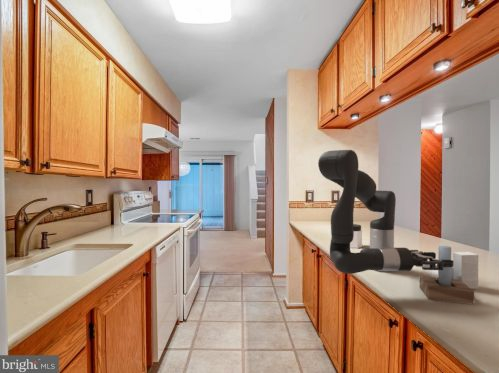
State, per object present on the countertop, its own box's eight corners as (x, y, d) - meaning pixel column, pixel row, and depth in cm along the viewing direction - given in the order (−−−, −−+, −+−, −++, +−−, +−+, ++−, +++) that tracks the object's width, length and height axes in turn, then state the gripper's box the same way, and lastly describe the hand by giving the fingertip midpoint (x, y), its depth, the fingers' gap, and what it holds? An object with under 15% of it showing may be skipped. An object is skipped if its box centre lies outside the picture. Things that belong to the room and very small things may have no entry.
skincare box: (468, 284, 99) (468, 251, 98) (478, 289, 95) (479, 254, 94) (451, 284, 99) (452, 251, 98) (461, 289, 94) (462, 255, 94)
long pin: (436, 292, 92) (436, 245, 92) (448, 293, 91) (448, 246, 91) (440, 296, 89) (440, 247, 88) (452, 297, 88) (453, 248, 87)
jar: (351, 243, 159) (351, 223, 159) (364, 246, 153) (364, 225, 153) (342, 246, 154) (342, 225, 154) (355, 249, 148) (355, 227, 147)
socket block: (419, 287, 96) (419, 276, 96) (459, 291, 93) (459, 279, 93) (428, 299, 87) (428, 287, 87) (473, 304, 83) (474, 291, 83)
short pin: (440, 284, 99) (440, 265, 98) (451, 285, 98) (451, 266, 97) (443, 288, 95) (444, 268, 95) (455, 289, 94) (455, 269, 94)
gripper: (405, 254, 83) (459, 254, 82) (383, 242, 97) (430, 242, 97) (404, 278, 83) (459, 278, 83) (383, 263, 97) (429, 263, 97)
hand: (443, 259), depth 90 cm, fingers open, 8 cm apart
